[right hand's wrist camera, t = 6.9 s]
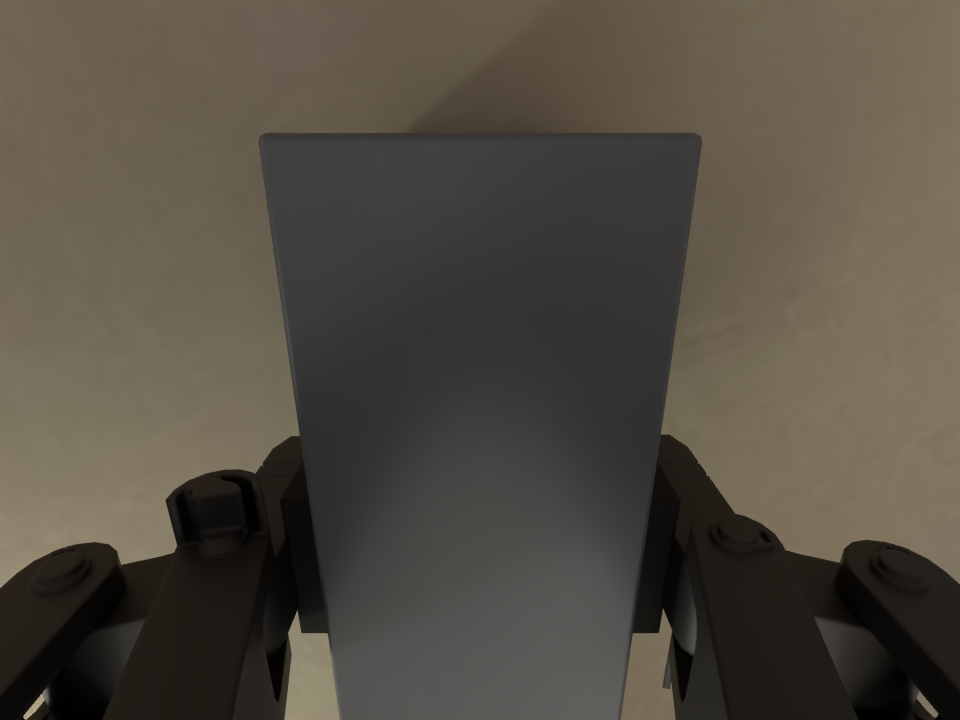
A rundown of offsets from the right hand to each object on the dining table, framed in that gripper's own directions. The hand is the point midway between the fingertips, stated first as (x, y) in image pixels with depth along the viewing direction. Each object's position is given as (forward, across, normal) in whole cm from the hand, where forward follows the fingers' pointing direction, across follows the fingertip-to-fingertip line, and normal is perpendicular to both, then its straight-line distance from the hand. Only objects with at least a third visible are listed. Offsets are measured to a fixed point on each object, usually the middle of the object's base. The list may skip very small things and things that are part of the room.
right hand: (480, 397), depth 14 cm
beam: (+1, 0, -19) cm, 19 cm away
